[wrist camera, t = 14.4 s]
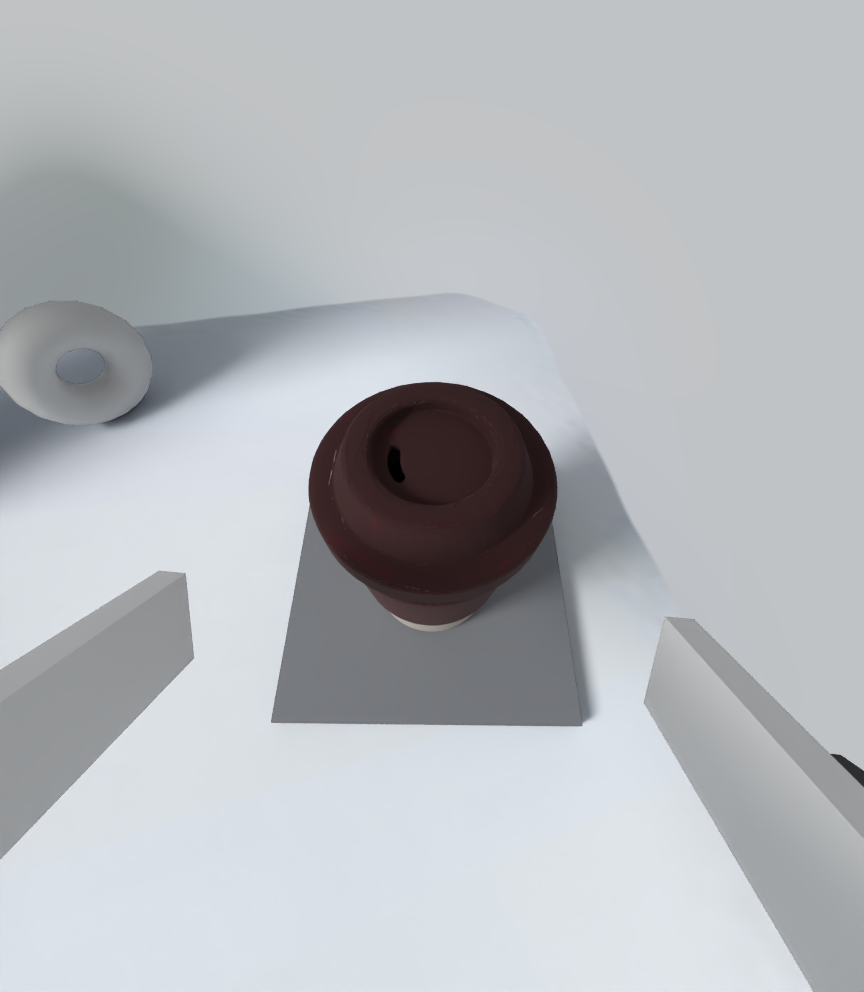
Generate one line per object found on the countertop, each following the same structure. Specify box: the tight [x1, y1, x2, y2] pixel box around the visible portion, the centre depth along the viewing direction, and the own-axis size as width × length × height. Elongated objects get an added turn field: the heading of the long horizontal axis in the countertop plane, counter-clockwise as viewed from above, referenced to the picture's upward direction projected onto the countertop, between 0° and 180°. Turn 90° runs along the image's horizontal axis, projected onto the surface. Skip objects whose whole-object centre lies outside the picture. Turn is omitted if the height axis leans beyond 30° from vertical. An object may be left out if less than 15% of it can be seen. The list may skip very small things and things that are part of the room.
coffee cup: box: [309, 382, 557, 632], centre depth 22 cm, size 10×10×15 cm
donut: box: [0, 301, 153, 425], centre depth 32 cm, size 10×4×10 cm, turn 139°
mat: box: [271, 507, 582, 726], centre depth 29 cm, size 18×18×1 cm
